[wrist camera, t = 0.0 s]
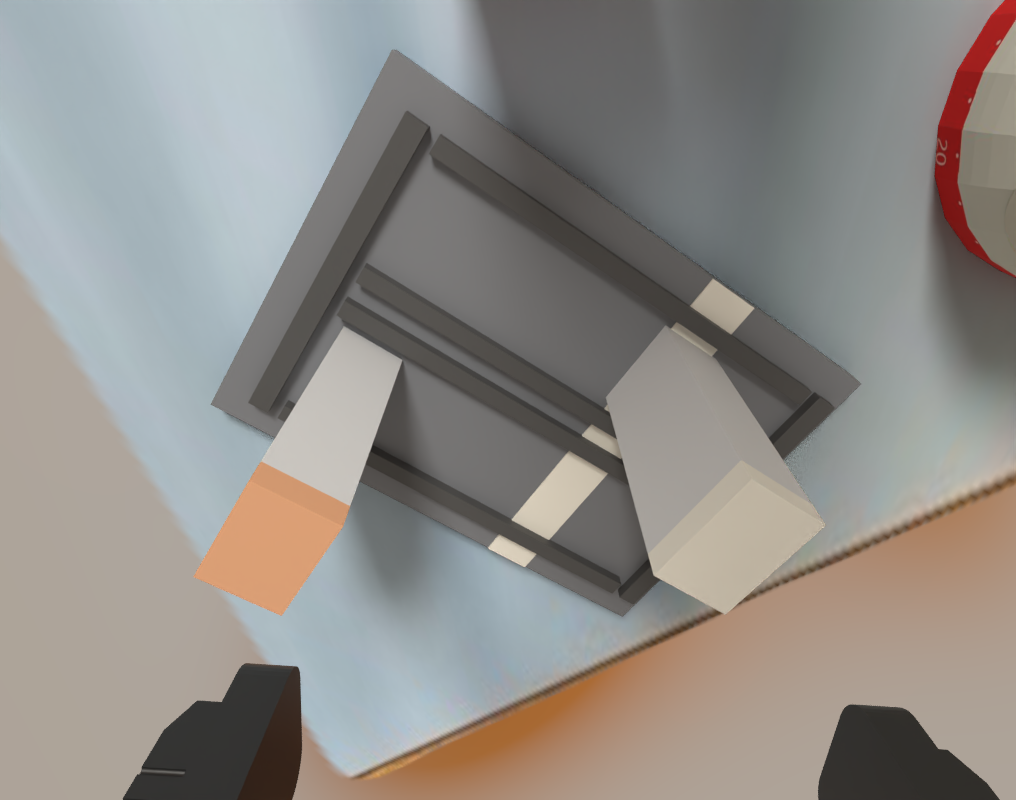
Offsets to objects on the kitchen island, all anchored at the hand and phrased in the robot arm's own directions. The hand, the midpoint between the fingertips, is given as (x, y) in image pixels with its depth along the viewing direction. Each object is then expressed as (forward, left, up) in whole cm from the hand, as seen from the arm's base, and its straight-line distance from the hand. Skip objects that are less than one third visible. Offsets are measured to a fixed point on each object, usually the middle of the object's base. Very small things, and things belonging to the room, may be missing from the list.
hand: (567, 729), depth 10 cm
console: (+5, +3, -22) cm, 23 cm away
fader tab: (+9, -4, -21) cm, 23 cm away
